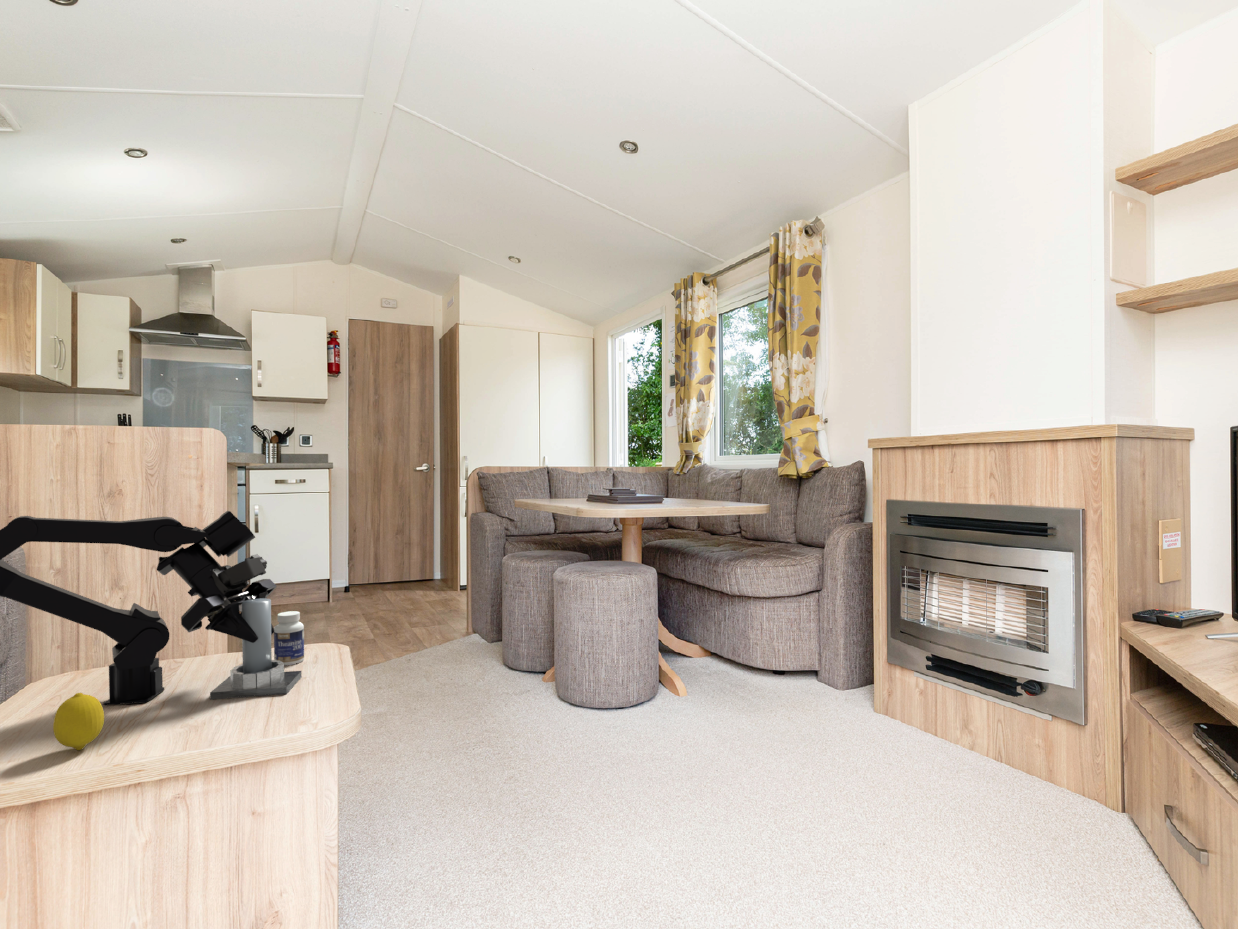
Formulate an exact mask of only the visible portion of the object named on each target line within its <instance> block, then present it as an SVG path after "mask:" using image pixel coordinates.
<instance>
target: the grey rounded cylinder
mask: <svg viewBox="0 0 1238 929" xmlns="http://www.w3.org/2000/svg"><path fill="white" fill-rule="evenodd" d="M242 617H243V618H244V619H245V621H246V622H247V623H248V624H249V626H250V627H251V628H252V629H253V631H254V632H255V634H256V635H257V637H258V640H257V641H256V642H254V643H252V642H249V641H246V640H243V639H241V642H242V645H241V646H242V647H241V648H242V650H241V652H242V664H243V673H256V672H261V671H266V670H270V669H272V660H273V659H272V658H273V656H272V635H271V624H272V600H271V598H266V599H265V598H262V599H251V600H246V601H243V602H242Z"/></svg>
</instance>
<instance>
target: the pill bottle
mask: <svg viewBox="0 0 1238 929" xmlns="http://www.w3.org/2000/svg"><path fill="white" fill-rule="evenodd" d="M300 620H301V612H300V611H297V610H294V611H293V610H291V611H290V610H289V611H283V612H279V613H278V614H277V622H278V624H276V625H275V626H274V627H273V628H274V633H273V654H274V656H273V657H274V659H273V660H278V661H282V662H283V663H284V666H291V665H296V663H297V664H300V663H302V662H304V660H305V625H304V623H302V622H301V621H300Z"/></svg>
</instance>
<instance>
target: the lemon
mask: <svg viewBox="0 0 1238 929" xmlns="http://www.w3.org/2000/svg"><path fill="white" fill-rule="evenodd" d="M104 723H105V712H104V708H103V706H102V704H101V702H100V700H99V699H98V698H97V697H95V696H93V695H91V694H84V693H83V692H76V693H75V694H74V695H73V696H70V697H68V698H67V699H66V700H64V701H63V702H62V703H61V704H60V705H59V706H58V708H57V710H56V711H55V715H54V718H53V725H52V726H53V727H52V729H53V734H54V737H55V740H56V741H57V742H58V743H60V744H61V745H62V746H65V747H67V748H73V749H74V750H76V751H80V750H83V749H84V748H85V747H86V746H87V745H88V744H90V743H92V742H93V741H94V740H95V739H96V738H98V736H99V735H100V733H101V731H102V729H103V727H104Z"/></svg>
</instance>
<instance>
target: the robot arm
mask: <svg viewBox="0 0 1238 929" xmlns="http://www.w3.org/2000/svg"><path fill="white" fill-rule="evenodd" d="M255 538H256V536H255V534H254V533H253V532H252V530H250V529H249V527H248V526H247V525H246V524H245V523H243V522H241V520H240V519H238V517H237V516H236V515H234V513H232V511H230V510H226V511H224V513H222V514H221V515H220V516H219V517H218V518H217V519H215V520H214V521H213V522H211V523H209V524H208V525H207V526H205V527H204V528H203V529H201V528H199V527H197V526H194V527H192V526H191V527H190V526H186V525H183V524H182V523H181V522H180V521H179V520H177V519H175V518H173V517H170V516H157V517H146V518H137V519H129V520H121V521H118V520H100V519H99V520H98V519H97V520H96V519H75V518H73V519H71V518H51V517H49V518H46V517H34V516H30V515H20V516H17V517H14V519H12V520H11V521H10V522H8V523H7V525H6V526H4V527H2V528H1V529H0V597H2V598H6V599H10V600H12V601H15V602H17V603H20V604H23V605H26V606H28V607H31V608H34V609H37V610H39V611H42V612H46V613H48V614H51V615H54V616H56V617H59V618H62V619H66V620H67V621H71V622H73V623H76V624H80V625H82V626H85V627H88V628H90V629H92V630H96V631H99V632H101V633H102V634H104V635H106V636H108V637H109V638H111V640H113V641H115V642H116V644H115V645H114V646H112V650H111V651H112V660H113V663H111V664H109V665H108V687H109V688H108V690H109V693H108V694H109V697H108V698H109V699H107V700H105V701H104V702H103V706H115V705H116V706H117V705H129V704H145V703H148V702H150V701H151V700H152V699H154V698H155V697H156V696H158V695H160V693H162V692H164V691H165V687H164V686H163V684H164V683H163V667H162V666H160V658H159V657H156V656H157V654H158V653H159V652H160V651H161V650H163V649H164V648H165V647H166V646H167V644H168V643H169V641H170V635H171V634H170V630H169V628H168V625H167V623H166V621H165V620H164V619H163V617H161V616H160V613H159V611H158V610H149V609H146V608H144V607H143V606H141V605H139V604H137V603H135V602H134V603H132V605H131V608H130V609H124V608H123V609H122V608H116V607H112V606H110V605H107V604H104V603H102V602H99V601H96V600H94V599H91V598H89V597H87V596H86V597H85V596H83V595H81V594H78V593H75V592H74V591H70V590H67V589H65V588H63V587H60V586H57V585H54V584H52V583H49V582H46V581H44V580H41V579H39V578H36V577H34V576H31V575H28V574H25V573H23V572H21V571H20V570H18V569H17V568H15V567H14V566H12V565H11V564H9V563H8V562H6V560H4V558H6V557H7V556H8V555H10V554H11V553H13V552H14V551H16V550H17V549H18V548H20V547H22V546H23V545H25V544H27V543H31V542H32V543H33V542H35V543H65V544H66V543H69V544H70V543H73V544H76V543H77V544H107V545H108V544H109V545H110V544H111V545H115V544H116V545H123V546H126V547H132V548H137V549H142V550H148V551H152V552H153V551H154V552H159V553H160V552H161V553H168V552H169V553H170V552H173V553H172V554H170V555H168V556H159V557H158V564H157V566H156V571H157V572H158V573H159V574H161V575H162V576H166V575H167V574H169V573H170V572H172V571H174V572H175V573H176V574H177V575H178V576H179V577H180V578H181V579H182V580H183V581H184V582H185V583H186V584H187V586H189V587H190V589H189V590H188V591H187V593H188V595H189V596H191V597H194V596H199V597H198V598H197V599H196V601H195V602H194V603H192V604H191V606H190V607H189V608H188V609H187V610H186V611H184V613H183V615H181V616H180V626H182V627H183V628H184V630H186V631H187V633H191V632H194V631H195V632H196V631H197V630H200V629H201V628H202V627H203V621H202V620H203V619H204V618H207V621H208V622H209V623H208V624H207V625H206V626H205V627H204V628H205V630H206V631H210V630H211V631H215V632H218V633H222V634H225V635H228V636H232V637H234V638H237V639H240V640H242V639H243V640H246V641H249V642H252V643H254V642H256V641H257V640H258V637H257V635H256V634H255V632H254V631H253V629H252V628H251V627H250V626H249V624H248V623H247V622H246V621H245V619H244V618H243V617H242V602H243V601H246V600H251V599H262V598H265V599H268V598H267V597H269V596H270V595H271V593H273V591H275V590H276V588H277V584H275V582H274V581H273V580H271V579H270V578H262V579H259V580H256V581H253V582H251V583H250V582H249V581H251V580H252V579H254V578H257V577H259V576H263V575H265V574H266V573H267V571H266V569H267V565H268V561H267V560H266V559H264V558H263V556H260V555H259V554H258V553H256V554H252V555H250V556H249V557H246V558H244V561H243V560H242V561H240V562H238V563H236V564H235V565H232V566H231V565H228V564H226V565H221V564H220V563H219V562H218V561H217V560H216V559H215V557H213V556H212V555H211V554H210V553H209V551H207V549H205V547H206V546H207V547H208V548H209V549H210V550H211V551H212V552H213V554H214V555H216V556H217V557H218V558H220V557H221V556H222V557H224V556H226V557H227V558H230V557H231V556H232V555H234V554H235V553H236V552H238V551H239V550H240V549H243V547H245V546H246V545H247V544H248V543H250V542H251V541H253V540H254V539H255ZM190 544H191V545H190ZM183 545H189V546H187V547H185V548H184V546H183ZM181 546H182V547H181ZM272 635H274V627H273V624H272V623H271V636H272Z"/></svg>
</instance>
